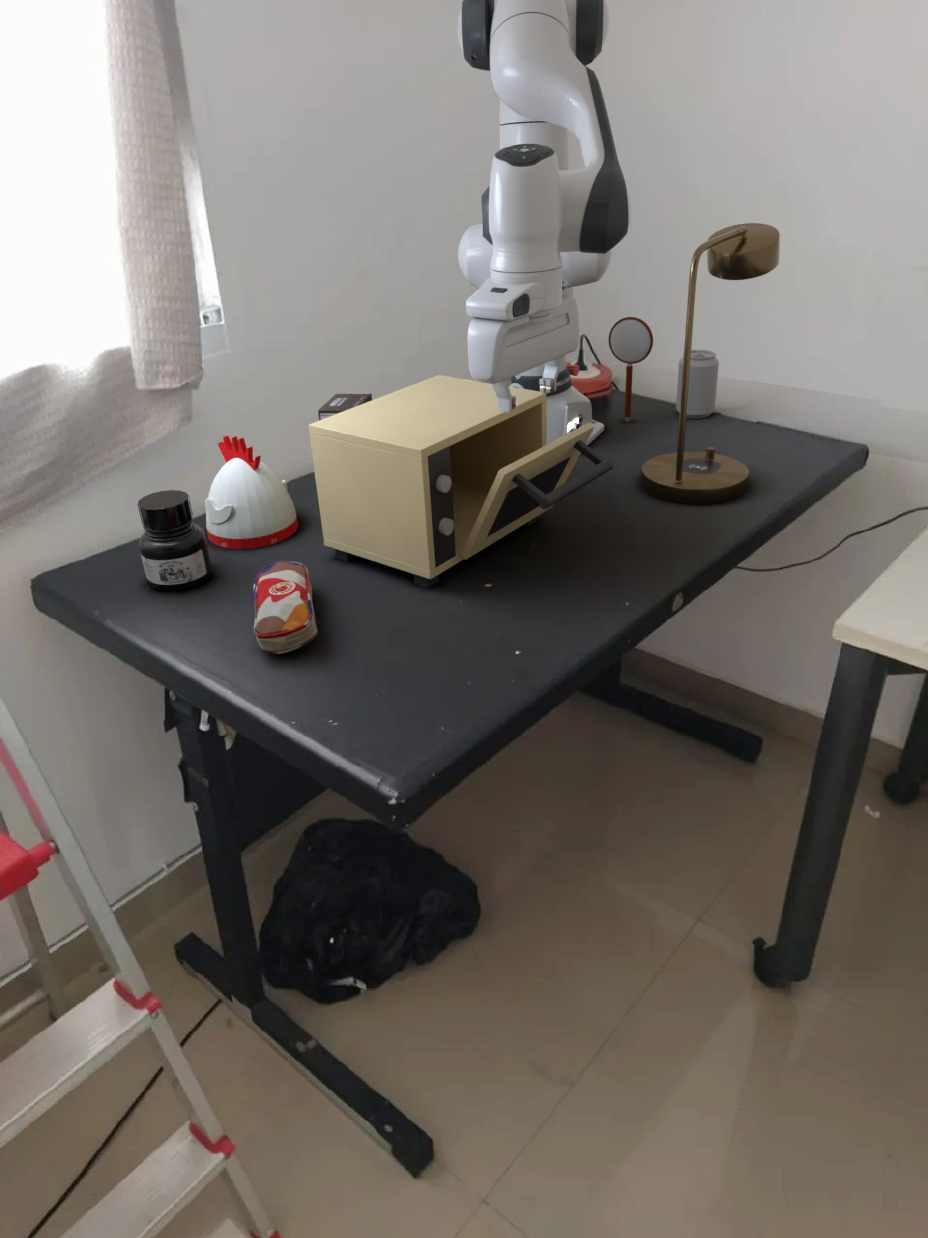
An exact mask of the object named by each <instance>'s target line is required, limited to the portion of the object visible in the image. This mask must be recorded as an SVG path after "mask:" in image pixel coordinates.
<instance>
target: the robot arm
mask: <svg viewBox="0 0 928 1238" xmlns="http://www.w3.org/2000/svg"><path fill="white" fill-rule="evenodd" d="M609 13H610V12H609V9H608V4H607V0H462V2H461V8H460V10H459V14H458V17H457V18H458V19H457V26H456V31H457V32H456V33H457V38H458V39H457V40H458V44H459V47H460V50H461V52H462V54H463V58H464V61H465V62H466V63H467V64H468V65H469V66H470V67H471V68H473V69H477V70H480V71H485V72H486V71H487V72H490V76H491V83H492V86H493V89H494V91H495V93H496V95H497V96H498V98H499V99H500V101H499V150H498V151H497V152H495V153H494V155H493V157H492V161H491V169H490V177H489V179H490V180H489V186H487V188H486V189H485V190H484V192H483V193H482V194H481V197H480V199H481V200H480V201H481V216H482V219H481V220H482V222H481V223H477V224H474V225H470V226H469V227H468V228H466V230H465V232H464V233H463V235H462V237H461V239H460V241H459V243H458V249H457V260H458V261H457V262H458V266H459V269H460V272H461V274H462V276H463V277H464V278H465V280H466V281H467V282H468V283H469V284H470V285H471V286H472V287H474V288H476V291H475V292H474V293H472V294H471V295H469V297H468V298H467V299H466V301H465V313H466V315H467V316H468V317H470V318H471V317H472V319H471V321H470V322H469V324H468V328H467V361H468V362H467V363H468V370H469V374H470V375H471V377H472V380H473V381H477V382H482V383H488V384H491V386H492V388H493V390H494V392H495V394H496V396H497V397H498V408H499V410H500V411H503V412H509V411H511V410H513V409H515V408H516V404H515V402H516V396H512V395H511V392H510V390H509V387H515V388H521V389H527V390H533V391H539V392H542V393H546V416H547V445H548V444H550V443H551V442H553V441H555V440H557V439H559V438H561V437H563V436H565V435H567V434H569V433H570V432H572V431H574V430H576V429H578V428H580V427H582V426H584V425H586V424H588V423H591V424H592V425H593V426H594V429H593V431H592V433H591V434H590V436H589V438H588V440H587V442H586V445H587V446H589V445H590V444H591V443H592V442H593V441H594V440H595V439H596V438H597V437H599V436H600V435H601V434H602V433H603V432H604V431H605V424H604V423H602V422H600V421H597V420H595V419H593V409H592V402H591V400H590V399H589V398H588V397H587V396H585V394H582V393H580V392H579V391H580V390H578V389H576V387H575V386H573V381H572V377H571V376H573V377H577V376H579V373H580V366H579V364H571V363H568V364H567V355H568V354H571V353H574V352H576V351H577V350H578V346H579V343H580V319H579V308H578V303H577V301H576V298H575V297H574V289H573V288H575V287H580V286H584V285H585V286H586V285H588V284H594V283H597V282H599V281H600V279H602V278H603V277H604V275H605V274H606V272H607V270H608V269H609V266H610V263H611V260H612V255H613V254H612V252H613V251H612V250H613V249H614V248H615V247H616V246H617V245H618V244H619V243H620V242H622V240H623V239H624V238H625V237H626V236H627V234H628V232H629V227H630V222H631V215H632V205H631V203H632V202H631V197H630V191H629V189H628V186H627V183H626V180H625V176H624V173H623V170H622V168H621V165H620V162H619V158H618V153H617V149H616V145H615V140H614V135H613V132H612V127H611V123H610V118H609V115H608V110H607V106H606V102H605V99H604V98H605V97H604V95H603V90H602V88H601V85H600V81H599V79H598V76H597V74H596V73H595V71H594V70H593V69H591V68H590V67H589V66H588V65H590V64H592V63H593V62H594V61H595V60H596V59H597V57H598V56H599V55H600V54H601V52H602V50H603V46H604V44H605V42H606V39H607V36H608V33H609V25H610V14H609ZM569 131H570V132H571V133H573V134H574V135H575V136H576V138H577V140H578V143H579V147H580V152H581V157H582V162H583V166H584V167H582V168H578V169H577V168H576V169H571V168H570V153H569V151H570V150H569ZM508 386H509V387H508Z"/></svg>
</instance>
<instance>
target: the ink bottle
mask: <svg viewBox="0 0 928 1238" xmlns="http://www.w3.org/2000/svg"><path fill="white" fill-rule="evenodd" d="M136 504H137V509H138V512H139V516H140V521H141V525H142V528H143V530H144V533H142V535H140V539H139V541H138V546H139V550H140V551H139V552H140V557H141V561H142V565H143V571H144V574H145V577H146V579H147V582H148V584H149V586H150V587H152V588H153V589H156V590H159V591H168V592H169V591H170V592H171V591H182V590H187V589H190V588H194V587H197V586H199V585H200V584H202V583H204V582H206V581H207V580H208V578H209V577H211V574H212V563H211V559H210V555H209V554H210V553H209V550H208V545H207V539H206V535H205V534H206V533H205V532H204V529H203V528H202V527H201V526H200V525H198V524H196V523H195V522H194V514H193V509H192V508H193V507H192V504H191V499H190V495H189V494H188V493H187V492H186V491H182V490H177V489H176V490H175V489H169V490H159V491H156V492H152V493H149V494H147V495H144V496H142V497H141V498H140V499H138V502H137V503H136Z"/></svg>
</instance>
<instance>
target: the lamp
mask: <svg viewBox="0 0 928 1238" xmlns="http://www.w3.org/2000/svg"><path fill="white" fill-rule="evenodd" d="M780 234H781V233H780V231H779V230H778V229H777V228H776V227H774V226H773V225H770V224H767V223H765V224H764V223H761V222H759V223H758V222H757V223H756V222H747V223H739V224H734V225H729V226H726V227H724V228H722V229H719V230H717V231H715V232H714V233H712V234H711V235H710V236H709V237H708V239H707V240H706V241H704V242H703V243H701V244H700V245H699V246H698V247H696V249H695V251H694V253H693V254H692V259H691V262H690V268H689V276H688V277H689V278H688V287H687V288H688V289H687V303H686V304H687V305H686V317H685V331H684V332H685V333H684V345H683V346H684V347H683V353H684V360H683V374H682V389H681V404H680V413H679V419H678V434H677V451H676V452H670V453H664V454H659V455H657V456H654V457H652V458H650V459H648V460H646V461H645V462H644V463H643V464H642V466H641V471H640V472H641V473H640V486H641V488H642V489H643V490H644V491H645V492H647V493H648V494H649V495H651V496H652V497H655V498H658V499H660V500H663V501H667V502H671V503H672V502H673V503H678V504H685V505H686V504H687V505H712V504H720V503H725V502H728V501H732V500H735V499H737V498H739V497H742V496H743V495H745V493H747V490H748V489H749V488H748V487H749V479H750V470H749V468H748V466H747V465H746V464H745V463H743V462H741V461H740V460H737V459H736V458H733V457H730V456H727V455H723V454H718V453H715V450H716V449H715V448H716V447H713V446H708V447H706V451H685V443H686V429H687V417H686V416H687V402H688V389H689V375H690V361H691V350H692V343H693V333H694V332H693V331H694V320H695V319H694V317H695V306H696V305H695V304H696V293H697V292H696V289H697V279H698V268H699V263H700V260H701V258H702V255H703V254H704V252H705V251H706V255H707V256H706V257H707V258H706V260H707V262H706V263H707V271H708V274H710V275H711V276H712V277H715V278H717V279H721V280H726V281H744V280H750V279H755V278H759V277H762V276H764V275H767V274H768V273H771V272H772V271H773V270H775V269H776V268H777V267H778V266H779V264H780V246H781V245H780V240H781V238H780V236H781V235H780Z"/></svg>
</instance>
